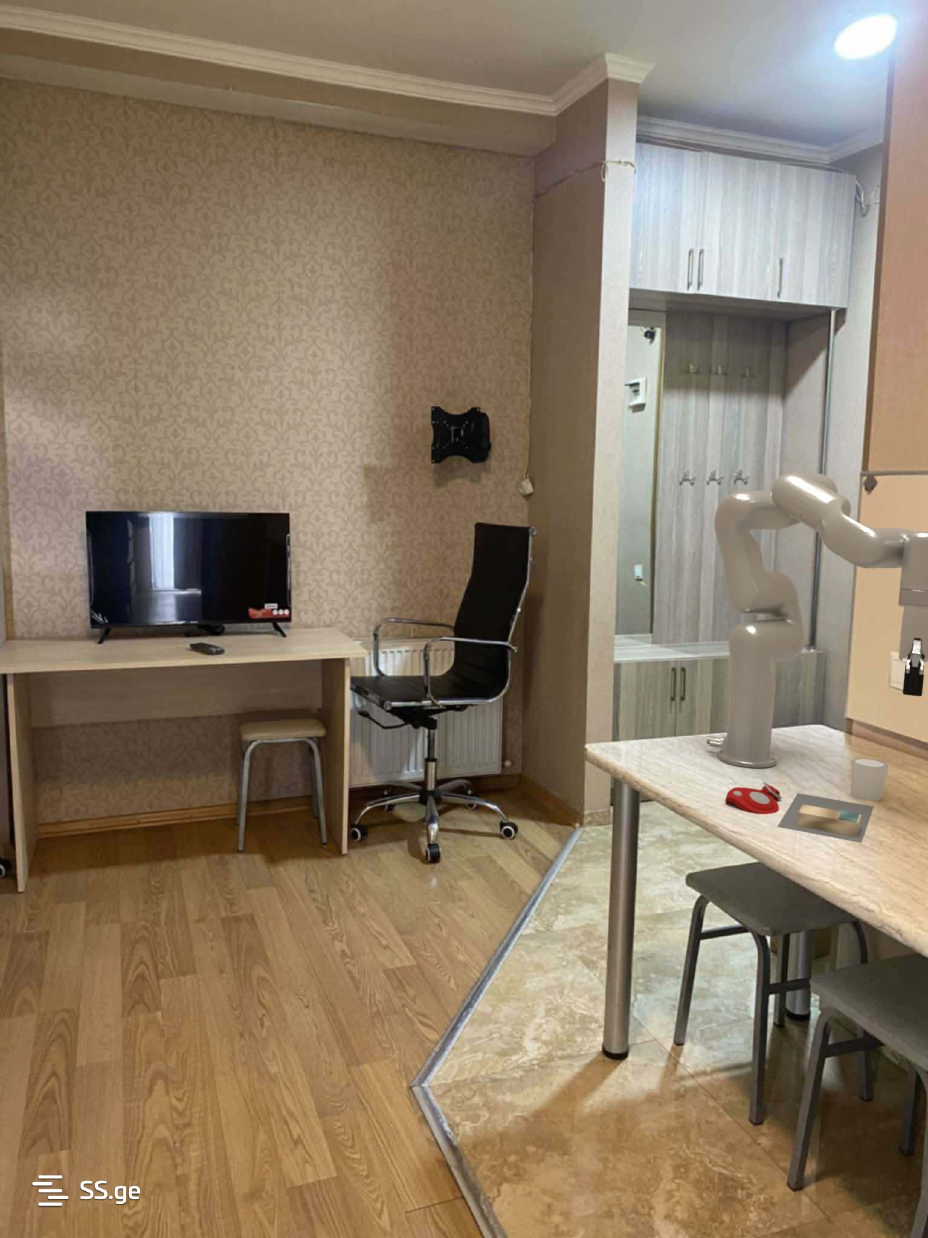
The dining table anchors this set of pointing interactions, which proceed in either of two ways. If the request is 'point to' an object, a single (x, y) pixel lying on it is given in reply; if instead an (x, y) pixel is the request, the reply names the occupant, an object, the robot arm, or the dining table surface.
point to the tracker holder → (755, 799)
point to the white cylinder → (868, 778)
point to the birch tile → (829, 820)
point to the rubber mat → (801, 799)
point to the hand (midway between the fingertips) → (912, 690)
